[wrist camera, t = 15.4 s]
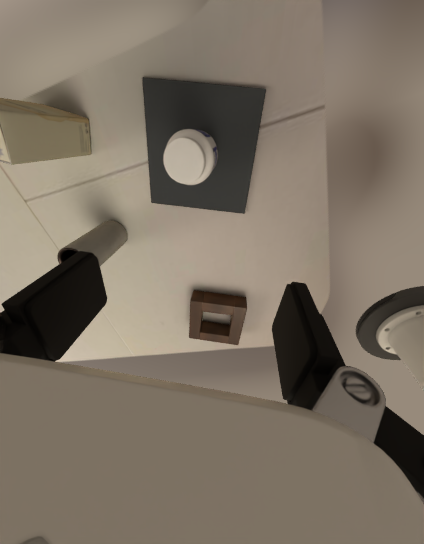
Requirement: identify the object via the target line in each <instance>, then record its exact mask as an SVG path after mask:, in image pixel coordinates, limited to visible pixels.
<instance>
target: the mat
mask: <svg viewBox="0 0 424 544" xmlns="http://www.w3.org/2000/svg"><path fill="white" fill-rule="evenodd" d="M143 92H144V106H145V120H146V133H147V147H148V161H149V175H150V189H151V202H152V203H158V204H167V205H175V206H184V207H192V208H201V209H209V210H218V211H226V212H235V213H243V214H244V213H245V208H246V202H247V197H248V191H249V185H250V179H251V174H252V168H253V162H254V156H255V151H256V145H257V139H258V133H259V128H260V122H261V116H262V110H263V104H264V99H265V93H266V89H264V88H253V87H242V86H231V85H220V84H209V83H199V82H188V81H177V80H166V79H155V78H144V77H143ZM184 129H195V130H201V131H204V132H206V133H208V134H209V135H210V136H211V137H212V138H213V140H214V141H215V143H216V146H217V150H218V159H217V163H216V166H215V168H214V169H213V171H212V172H211V174H210V175H209V176H208V177H207V179H205V180H204V181H203V182H201V183H199V184H196V185H186V184H182V183H179V182H176V181H175V180H173V179H172V178H171V177H170V176H169V174H168V173H167V171H166V169H165V166H164V161H163V157H164V151H165V149H166V146H167V143H168V141H169V140H170V138H171V137H172V136H173V135H174V134H175V133H176V132H178V131H180V130H184Z"/></svg>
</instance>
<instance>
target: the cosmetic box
mask: <svg viewBox="0 0 424 544" xmlns="http://www.w3.org/2000/svg"><path fill="white" fill-rule="evenodd" d="M90 154H91V145H90V130H89V120H88V118H85V117H82V116H79V115H76V114H73V113H70V112H67V111H63V110H60V109H57V108H54V107H50V106H47V105H44V104H37V103H31V102H25V101H18V100H11V99H4V98H0V162H3V163H6V164H10V165H14V164H22V163H29V162H37V161H45V160H53V159H60V158H68V157H76V156H83V155H90Z"/></svg>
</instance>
